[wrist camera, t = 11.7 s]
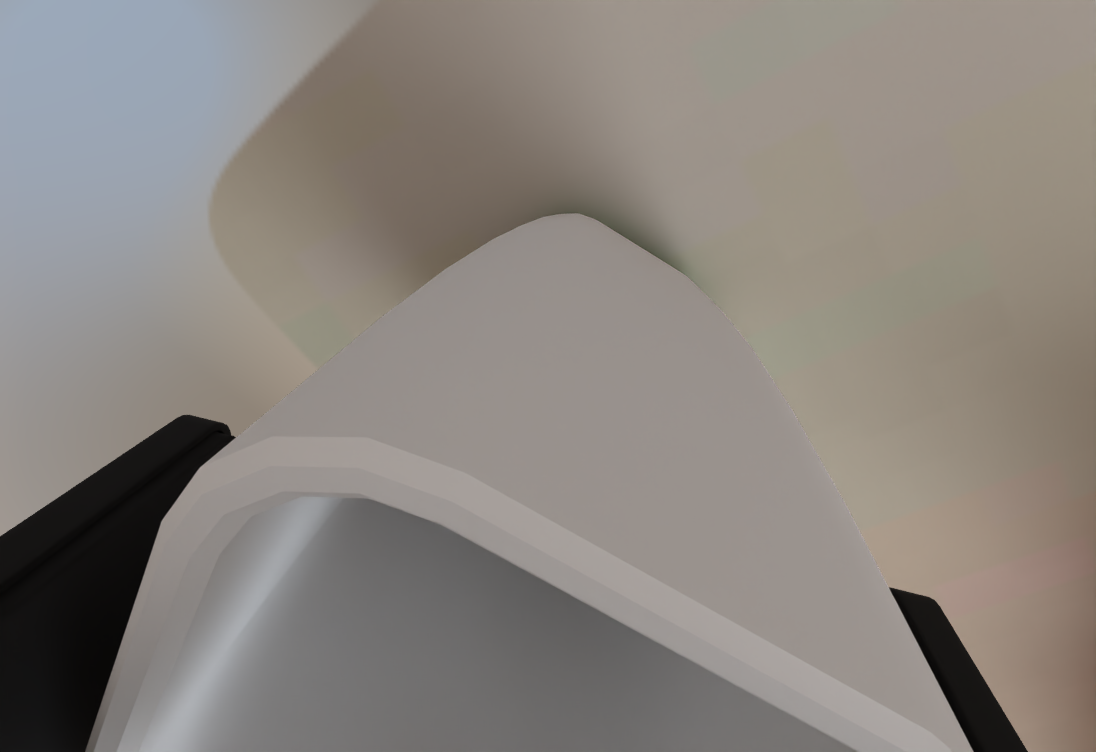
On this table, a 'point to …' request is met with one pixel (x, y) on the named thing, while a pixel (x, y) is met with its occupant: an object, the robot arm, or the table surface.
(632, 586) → the cup
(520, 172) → the table surface
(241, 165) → the table surface
